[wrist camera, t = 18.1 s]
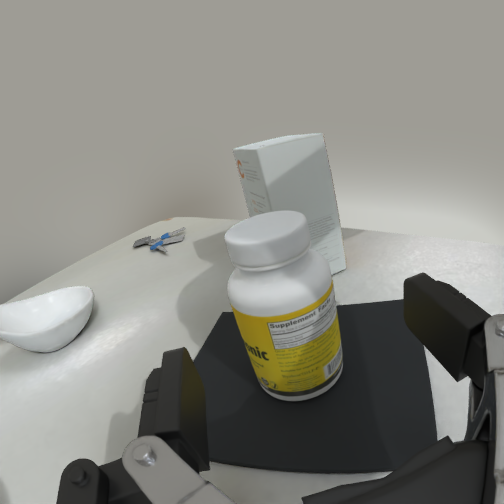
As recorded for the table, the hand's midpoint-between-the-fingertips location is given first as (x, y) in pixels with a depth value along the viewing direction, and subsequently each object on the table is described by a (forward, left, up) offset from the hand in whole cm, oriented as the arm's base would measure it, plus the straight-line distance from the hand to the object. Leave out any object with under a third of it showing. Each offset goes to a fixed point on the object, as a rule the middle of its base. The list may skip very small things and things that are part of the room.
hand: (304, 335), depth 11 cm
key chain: (+30, -34, -8) cm, 46 cm away
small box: (+4, -20, -8) cm, 22 cm away
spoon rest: (+33, -3, -8) cm, 34 cm away
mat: (+2, -5, -8) cm, 10 cm away
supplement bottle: (+2, -5, -8) cm, 10 cm away
